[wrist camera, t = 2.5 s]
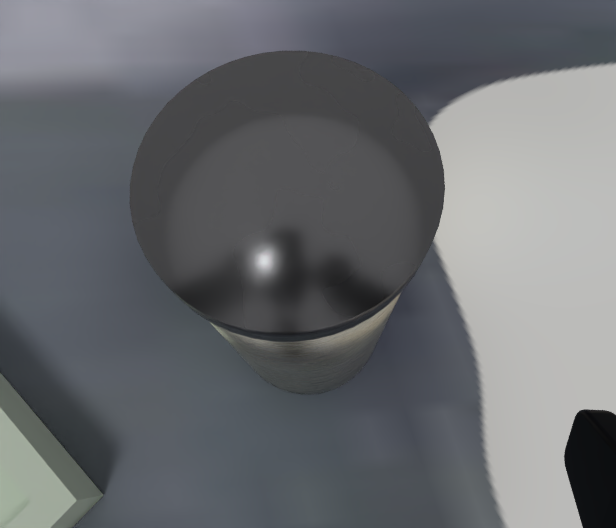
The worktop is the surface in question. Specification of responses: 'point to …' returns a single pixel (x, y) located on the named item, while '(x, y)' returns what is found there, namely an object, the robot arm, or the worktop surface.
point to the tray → (37, 471)
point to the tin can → (289, 209)
